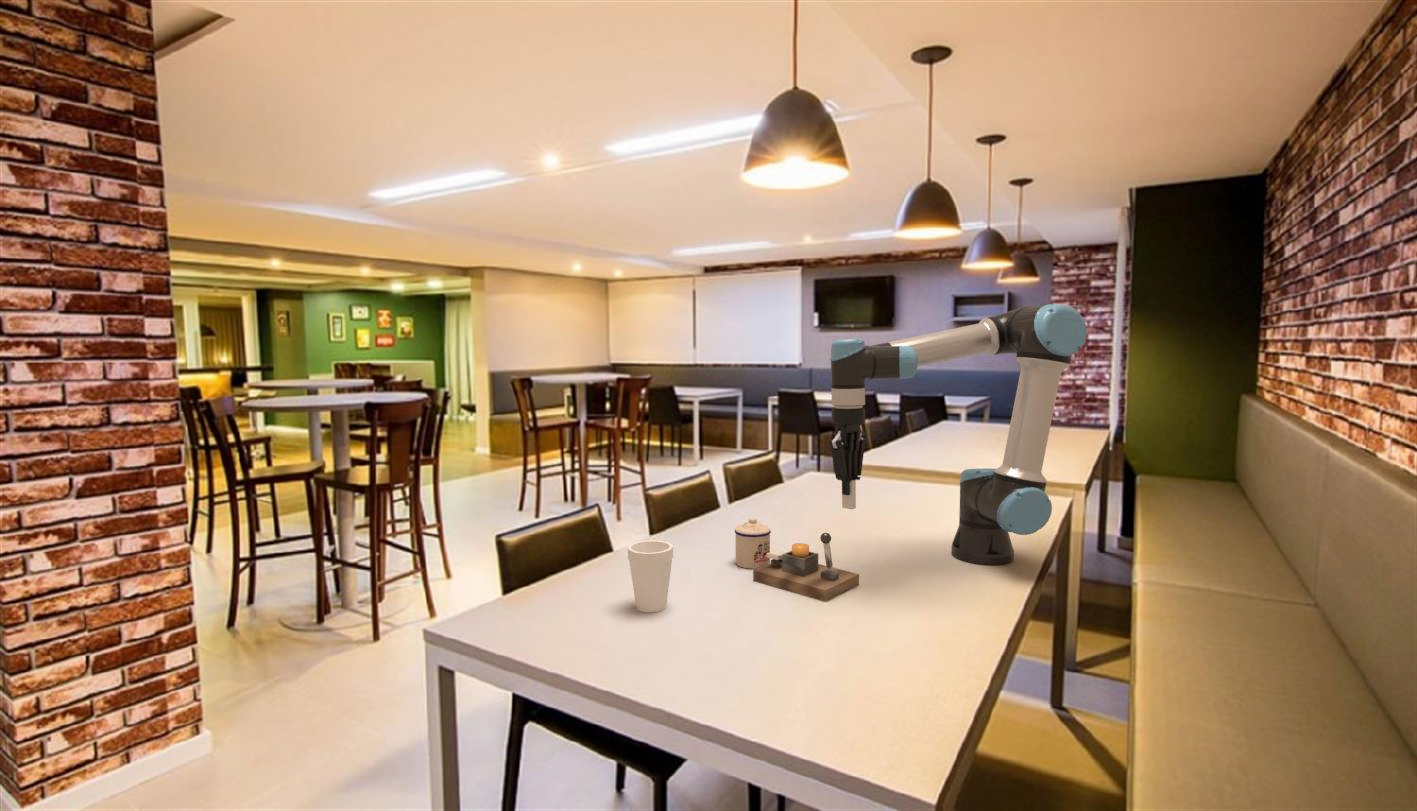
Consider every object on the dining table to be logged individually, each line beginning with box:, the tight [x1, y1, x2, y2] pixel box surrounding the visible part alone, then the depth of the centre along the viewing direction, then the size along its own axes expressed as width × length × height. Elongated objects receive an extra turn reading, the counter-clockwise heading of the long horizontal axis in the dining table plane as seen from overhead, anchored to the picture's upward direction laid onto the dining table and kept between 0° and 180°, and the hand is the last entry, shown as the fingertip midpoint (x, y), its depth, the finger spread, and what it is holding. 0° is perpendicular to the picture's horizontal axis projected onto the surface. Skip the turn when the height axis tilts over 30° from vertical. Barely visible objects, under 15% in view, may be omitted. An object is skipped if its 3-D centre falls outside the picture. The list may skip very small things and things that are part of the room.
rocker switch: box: [766, 551, 787, 560], centre depth 165 cm, size 3×6×1 cm, turn 138°
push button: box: [791, 542, 810, 558], centre depth 161 cm, size 4×4×3 cm
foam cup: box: [627, 540, 674, 614], centre depth 145 cm, size 10×9×13 cm
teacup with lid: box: [734, 517, 772, 570], centre depth 175 cm, size 12×9×12 cm
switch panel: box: [752, 550, 860, 603], centre depth 160 cm, size 20×14×6 cm
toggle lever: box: [819, 532, 833, 569], centre depth 154 cm, size 2×2×9 cm
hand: (848, 507), depth 160 cm, fingers closed
